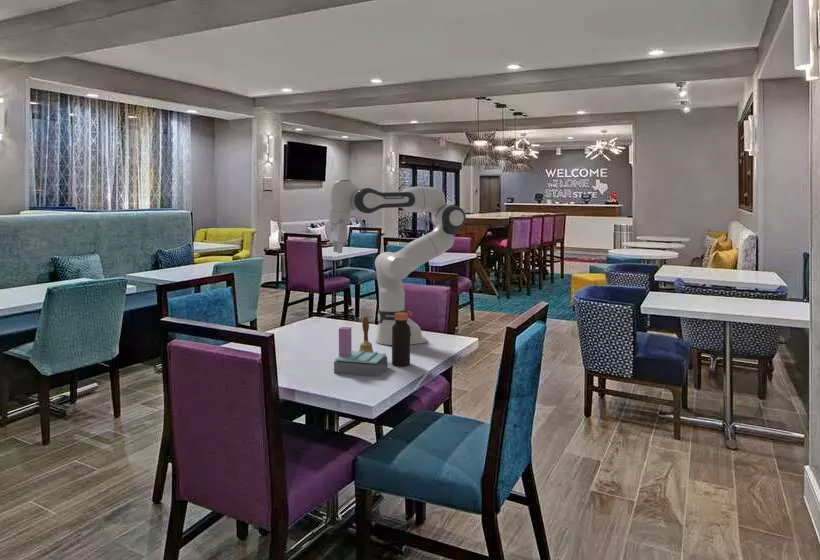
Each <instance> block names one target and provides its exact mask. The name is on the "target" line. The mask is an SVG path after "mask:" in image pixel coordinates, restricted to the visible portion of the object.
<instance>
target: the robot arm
mask: <svg viewBox="0 0 820 560" xmlns="http://www.w3.org/2000/svg"><path fill="white" fill-rule="evenodd" d="M329 201H330V208H329V213H328V214H329V216H328V223H329V231H330V232H329V235H330V241H332V246H333V249H332V250H333V252H334V253H337V254H343V247H344V243H347V241H348V225H350V224H351V218H352V216H351V215H352V211H353V212H356V213H359V214H372V213H374V212H376V211H378V210H381V209H388V208H389V209H393V208H398V209H399V208H400V209H402V210H404V211H405V212H410V213H427V214H428V216H429V222H430V223H431V225H433V227H434V228H433V230H431V231H430V232H428V233H426V234H423V235H422V236H420V237H417V238H416V239H414V240H412V241H410V242H409V243H408V244H406V245H405V246H404V247H403V248H401V249H399V250H398V251H395V252H391V251H384V252H382V253H379V254H378V255H377V256H376V258H375V260H374V266H375V271H376V280H377V286H378V303H379V304H378V306H379V307H378V311H377V322H378V326H377V333H376V337H375V340H374V341H375V342H376V343H377V344H381V345H387V346H392V326H393V325H394V324H395V323H396V321H395V313H398V312H404V313H408V321H407V324H408V325H409V326H410V346H411V345H417V344H424V343H425V344H426V343H427V341H428V340H427V338H426V336H424V335H422V330H421V327H420V326H419V324H417V323H416V322H414V321H413V320H412V319H411V318H409V317H411V316H412V315H413V312H412V311H410V310H407V309H406V308H405V299H406V298H405V293H406V292H405V289H404V286H403V281H402V280H403V279H406V278H407V277H408V276H409V275H410V274H411V273H412V272H414V271H415V270H416V269H418V268H419V267H421V266H423V265H424V264H426V263H428V262H430V261H432V260H433V259H435V258H438V257H439V256H441V255H442V254H443V255H444V253H445V252H447V251H448V250H450V249H451V248H452V247H453V246H454V243H455V239H454V235H457V234H458V232H459V230H460V229H461V228H462V227H463V226H464V224H465V223H466V219H467V216H466V215H467V214H466V212H465V211H464V209H463V208H462V207H460V206H458V205H453V204H448V203H446V197H445V193H444V191H443V190H442V189H441V188H439V187H433V186H422V185H421V186H420V185H419V186H410V187H407V188H403V189H402V190H401V191H394V192H393V191H392V192H391V191H390V192H389V191H388V192H381V191H378V190H375V189H373V188H372V187H371V188H369V187H365V188H361V187H359V186H358V185H356V184H355V183H353V182H352V180H350V179H341V180H336V181H334V182H333V183H332V185H331V189H330V199H329Z"/></svg>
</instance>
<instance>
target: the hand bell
mask: <svg viewBox="0 0 820 560" xmlns="http://www.w3.org/2000/svg"><path fill="white" fill-rule="evenodd" d="M361 324H362V331H363V341H362V342H360V344H359V345H360V346H359V350H358V352H362V351H364V352H368V353H375V352H374V350H373V344H372V342H370V341H369V330H370V322H369V319H368V317H367V316H364V317H363V320H362V323H361Z"/></svg>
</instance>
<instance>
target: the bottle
mask: <svg viewBox="0 0 820 560" xmlns="http://www.w3.org/2000/svg"><path fill="white" fill-rule="evenodd" d="M408 318H409V317H408V313H404V312H398V313H395V321H396V323H395V324H394V325H393V326H392V345H391V366H393V367H398V368H399V367H400V368H404V367H409V366H410V365H411V345H410V326H409V325H408V324H407V321H408Z"/></svg>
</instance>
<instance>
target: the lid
mask: <svg viewBox="0 0 820 560" xmlns="http://www.w3.org/2000/svg"><path fill="white" fill-rule="evenodd" d="M352 348H353V347H352V327H351V326H350V327H349V326H341V327H339V328H338V356H337V357H336V358H335V359H334V361H346V362H358V363H371V364H377V363H378V362H379V361H380V360H382V359H383V358H384V357H385V356H387V354H386V353H378V351H375V352H374V353H368V352H364V351H362V352H359V351H354V350H353V351H352Z"/></svg>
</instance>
